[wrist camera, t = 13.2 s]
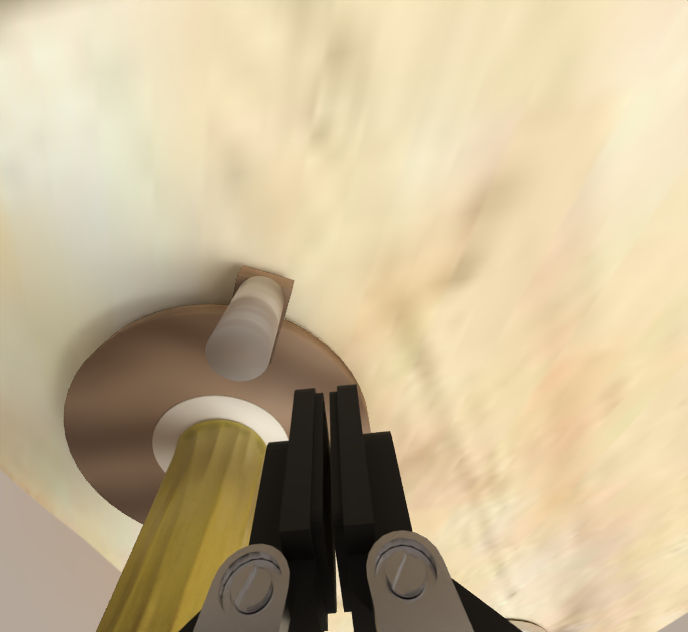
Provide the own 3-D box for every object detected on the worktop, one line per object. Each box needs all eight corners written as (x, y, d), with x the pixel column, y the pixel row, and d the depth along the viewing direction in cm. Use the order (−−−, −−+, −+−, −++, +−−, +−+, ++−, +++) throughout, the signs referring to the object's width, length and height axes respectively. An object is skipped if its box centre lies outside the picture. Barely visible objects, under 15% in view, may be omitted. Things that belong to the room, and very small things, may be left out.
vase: (177, 481, 26) (33, 814, 13) (175, 412, 24) (-7, 741, 11) (266, 488, 27) (209, 812, 14) (272, 422, 24) (211, 743, 11)
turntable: (347, 533, 32) (352, 640, 25) (98, 519, 30) (32, 630, 23) (402, 284, 22) (434, 347, 16) (43, 240, 21) (-96, 291, 14)
